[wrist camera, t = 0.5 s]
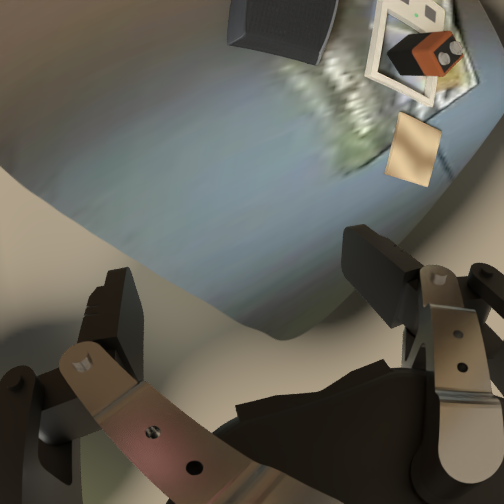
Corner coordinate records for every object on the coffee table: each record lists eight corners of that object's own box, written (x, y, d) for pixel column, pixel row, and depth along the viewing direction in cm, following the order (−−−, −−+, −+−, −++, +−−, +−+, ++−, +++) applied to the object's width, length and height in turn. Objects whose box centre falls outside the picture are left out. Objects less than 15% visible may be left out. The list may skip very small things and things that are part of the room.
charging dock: (383, -53, 25) (389, -56, 23) (439, -15, 29) (447, -16, 28) (364, 76, 35) (372, 76, 34) (426, 106, 39) (434, 107, 38)
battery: (422, 56, 35) (469, 56, 27) (399, 76, 36) (448, 78, 28) (408, 33, 33) (456, 29, 25) (384, 53, 34) (433, 49, 26)
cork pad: (399, 111, 39) (401, 112, 38) (439, 131, 42) (441, 132, 41) (384, 173, 43) (386, 174, 42) (425, 186, 46) (427, 187, 45)
